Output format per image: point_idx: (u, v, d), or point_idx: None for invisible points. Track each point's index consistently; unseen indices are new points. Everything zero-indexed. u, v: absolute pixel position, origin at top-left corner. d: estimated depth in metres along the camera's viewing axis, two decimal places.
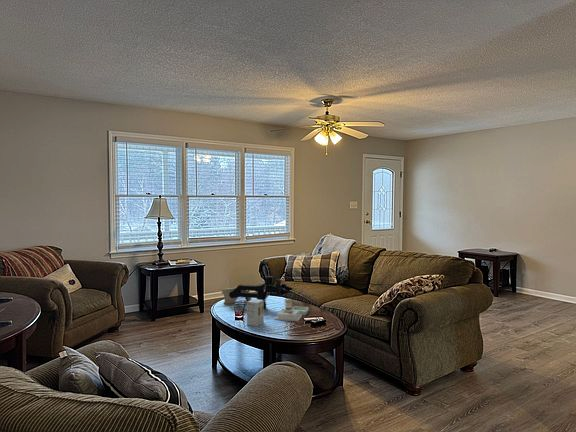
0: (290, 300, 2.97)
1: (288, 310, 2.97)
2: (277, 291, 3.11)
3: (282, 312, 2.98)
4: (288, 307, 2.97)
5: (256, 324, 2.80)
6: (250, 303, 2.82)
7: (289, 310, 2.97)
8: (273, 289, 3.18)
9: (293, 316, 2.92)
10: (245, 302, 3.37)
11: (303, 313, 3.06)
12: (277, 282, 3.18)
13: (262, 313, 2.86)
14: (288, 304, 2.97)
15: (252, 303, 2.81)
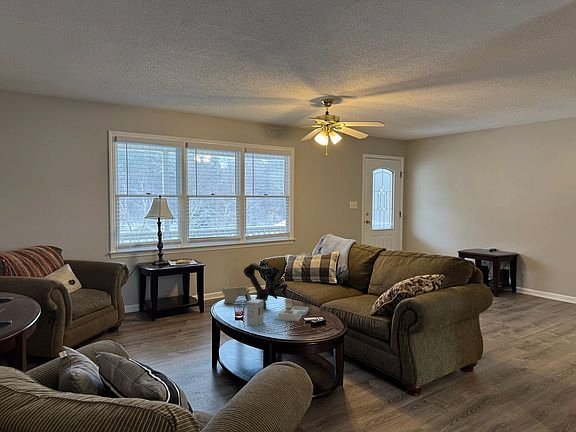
0: (290, 300, 2.97)
1: (288, 310, 2.97)
2: (267, 289, 3.03)
3: (282, 312, 2.98)
4: (288, 307, 2.97)
5: (256, 324, 2.80)
6: (250, 303, 2.82)
7: (289, 310, 2.97)
8: (270, 283, 3.10)
9: (293, 316, 2.92)
10: (245, 302, 3.37)
11: (303, 313, 3.06)
12: (276, 282, 3.05)
13: (262, 313, 2.86)
14: (288, 304, 2.97)
15: (252, 303, 2.81)
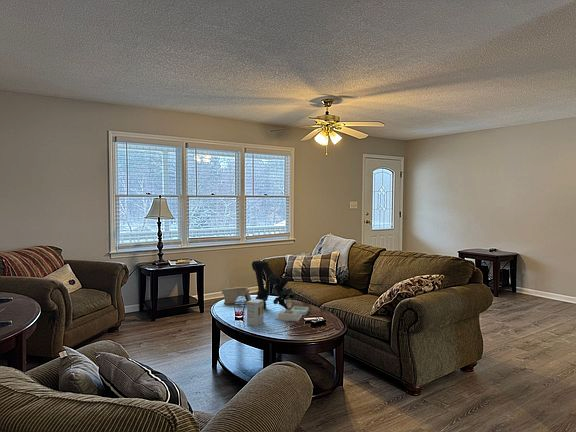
0: (290, 300, 2.97)
1: (288, 310, 2.97)
2: (275, 300, 2.96)
3: (282, 312, 2.98)
4: (288, 307, 2.97)
5: (256, 324, 2.80)
6: (250, 303, 2.82)
7: (289, 310, 2.97)
8: (278, 293, 3.03)
9: (293, 316, 2.92)
10: (245, 302, 3.37)
11: (303, 313, 3.06)
12: (284, 292, 2.98)
13: (262, 313, 2.86)
14: (288, 304, 2.97)
15: (252, 303, 2.81)
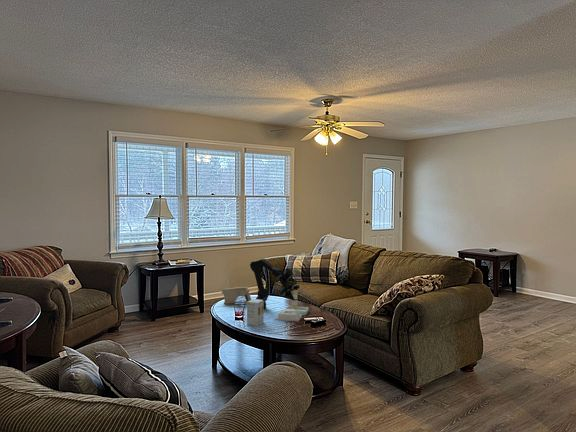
0: (296, 291, 3.00)
1: (294, 301, 3.00)
2: (282, 291, 2.97)
3: (282, 312, 2.98)
4: (294, 298, 3.00)
5: (256, 324, 2.80)
6: (250, 303, 2.82)
7: (295, 301, 3.00)
8: (283, 284, 3.05)
9: (293, 316, 2.92)
10: (245, 302, 3.37)
11: (303, 313, 3.06)
12: (290, 283, 3.01)
13: (262, 313, 2.86)
14: (294, 295, 3.00)
15: (252, 303, 2.81)
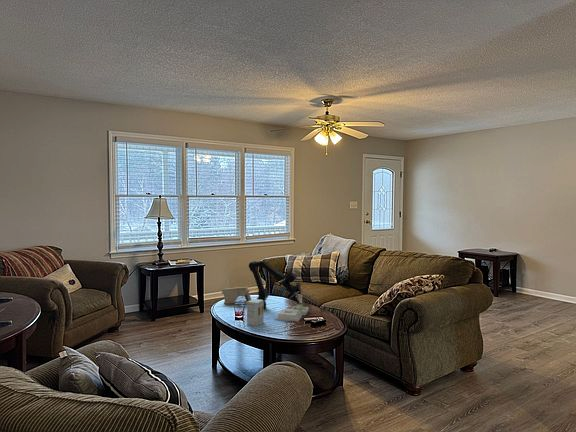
0: (301, 295, 3.11)
1: (300, 305, 3.10)
2: (289, 295, 3.05)
3: (282, 312, 2.98)
4: (300, 302, 3.10)
5: (256, 324, 2.80)
6: (250, 303, 2.82)
7: (301, 305, 3.11)
8: (288, 288, 3.12)
9: (293, 316, 2.92)
10: (245, 302, 3.37)
11: (303, 313, 3.06)
12: (296, 286, 3.10)
13: (262, 313, 2.86)
14: (300, 299, 3.10)
15: (252, 303, 2.81)
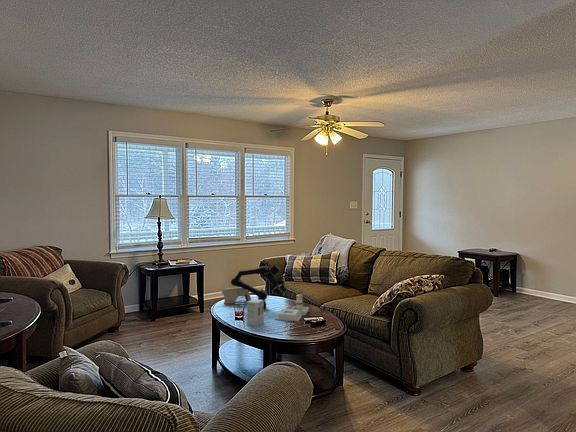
0: (302, 295, 3.11)
1: (300, 305, 3.10)
2: (272, 287, 3.12)
3: (282, 312, 2.98)
4: (300, 302, 3.10)
5: (256, 324, 2.80)
6: (250, 303, 2.82)
7: (301, 305, 3.11)
8: (271, 280, 3.20)
9: (293, 316, 2.92)
10: (245, 302, 3.37)
11: (303, 313, 3.06)
12: (279, 278, 3.17)
13: (262, 313, 2.86)
14: (300, 299, 3.10)
15: (252, 303, 2.81)
